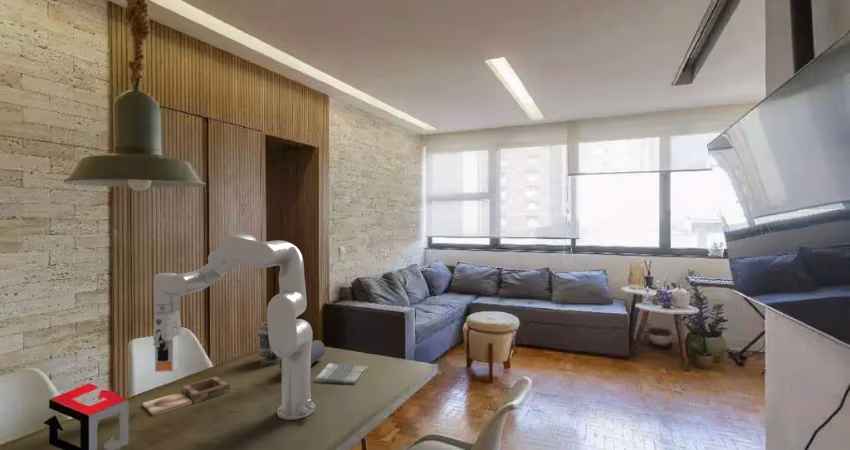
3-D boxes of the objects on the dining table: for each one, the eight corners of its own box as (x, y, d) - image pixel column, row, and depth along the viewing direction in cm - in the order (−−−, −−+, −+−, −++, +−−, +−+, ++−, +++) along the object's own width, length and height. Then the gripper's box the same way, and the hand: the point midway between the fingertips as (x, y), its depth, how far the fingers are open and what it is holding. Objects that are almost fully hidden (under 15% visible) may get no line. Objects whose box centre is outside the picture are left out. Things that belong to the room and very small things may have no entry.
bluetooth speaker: (309, 358, 194) (309, 337, 194) (326, 360, 191) (326, 339, 191) (278, 376, 172) (278, 352, 172) (296, 378, 169) (296, 355, 169)
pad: (192, 403, 146) (192, 400, 146) (153, 416, 137) (153, 412, 137) (179, 394, 154) (179, 391, 154) (142, 405, 145) (142, 402, 145)
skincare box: (154, 372, 143) (154, 338, 143) (160, 368, 147) (160, 335, 147) (173, 371, 144) (172, 338, 143) (178, 367, 148) (178, 334, 148)
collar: (229, 392, 156) (229, 384, 156) (194, 403, 146) (194, 395, 146) (215, 383, 164) (215, 376, 164) (181, 393, 155) (181, 386, 155)
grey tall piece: (279, 355, 198) (279, 318, 198) (288, 362, 189) (288, 323, 189) (253, 360, 191) (253, 322, 190) (262, 368, 181) (261, 328, 181)
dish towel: (355, 386, 162) (355, 378, 162) (313, 383, 165) (313, 376, 165) (369, 369, 181) (369, 362, 181) (331, 367, 184) (331, 360, 184)
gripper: (164, 312, 137) (164, 366, 137) (189, 302, 154) (189, 350, 154) (141, 313, 136) (141, 367, 137) (168, 302, 153) (168, 351, 153)
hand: (166, 357), depth 145 cm, fingers closed on skincare box, 4 cm apart
